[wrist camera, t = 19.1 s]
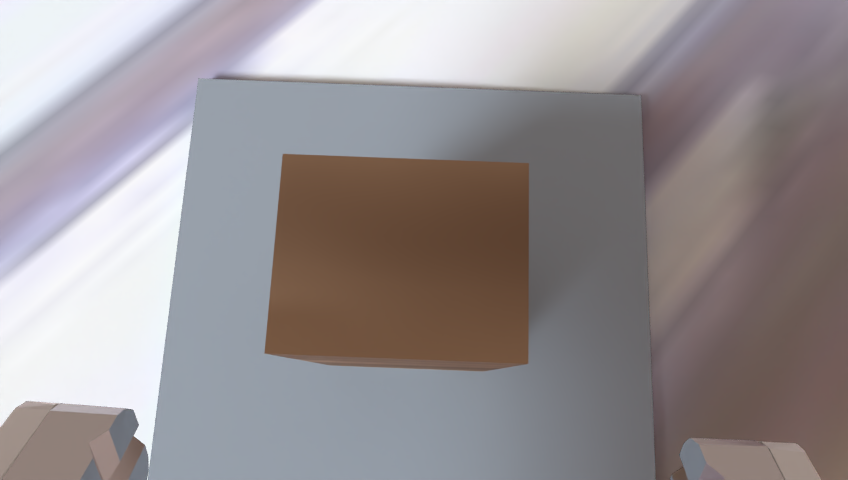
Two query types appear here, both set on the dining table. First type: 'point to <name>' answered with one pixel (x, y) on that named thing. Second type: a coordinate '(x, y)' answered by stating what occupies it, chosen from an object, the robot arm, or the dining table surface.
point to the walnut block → (401, 263)
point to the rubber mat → (399, 387)
